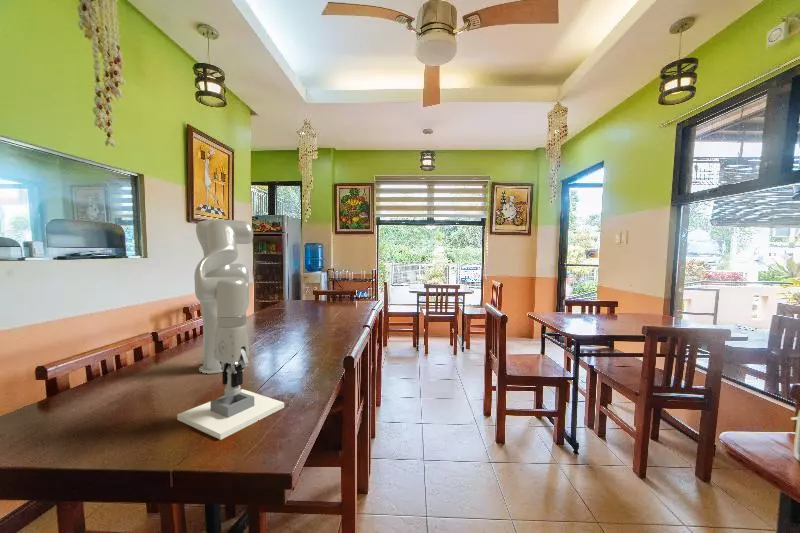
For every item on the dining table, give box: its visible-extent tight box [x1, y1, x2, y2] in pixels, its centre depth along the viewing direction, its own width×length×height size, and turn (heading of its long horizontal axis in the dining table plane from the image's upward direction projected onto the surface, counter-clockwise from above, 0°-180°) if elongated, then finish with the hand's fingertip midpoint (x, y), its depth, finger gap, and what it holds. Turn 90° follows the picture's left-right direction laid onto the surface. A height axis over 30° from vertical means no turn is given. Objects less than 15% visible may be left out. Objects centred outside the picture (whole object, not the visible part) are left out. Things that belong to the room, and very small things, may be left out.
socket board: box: [176, 388, 285, 441], centre depth 95 cm, size 20×20×4 cm
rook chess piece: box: [223, 365, 242, 397], centre depth 95 cm, size 4×4×8 cm
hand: (232, 383), depth 95 cm, fingers closed on rook chess piece, 3 cm apart
